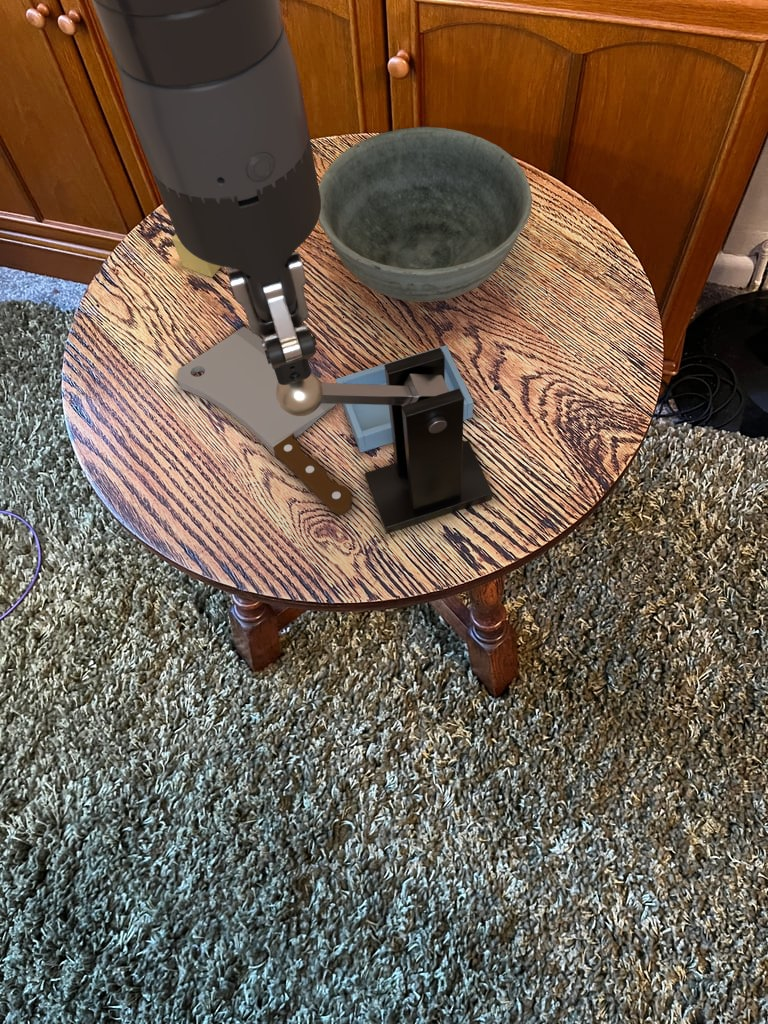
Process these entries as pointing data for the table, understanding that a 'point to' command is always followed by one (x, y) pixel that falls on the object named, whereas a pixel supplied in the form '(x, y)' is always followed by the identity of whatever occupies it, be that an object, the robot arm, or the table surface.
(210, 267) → the butter pat
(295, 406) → the cutter lever
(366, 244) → the bowl
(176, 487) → the table surface
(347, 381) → the butter dish
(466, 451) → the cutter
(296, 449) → the kitchen cleaver
